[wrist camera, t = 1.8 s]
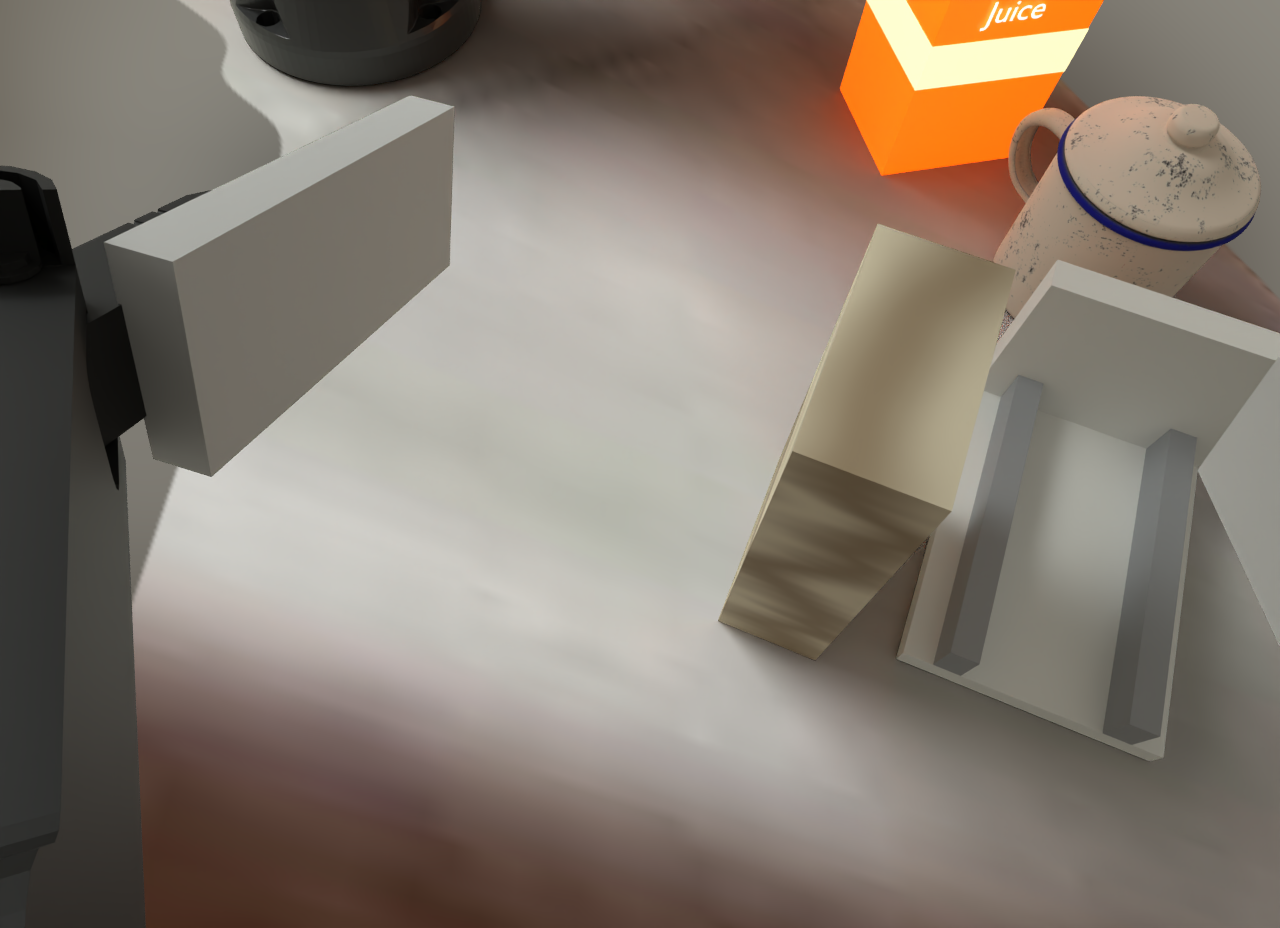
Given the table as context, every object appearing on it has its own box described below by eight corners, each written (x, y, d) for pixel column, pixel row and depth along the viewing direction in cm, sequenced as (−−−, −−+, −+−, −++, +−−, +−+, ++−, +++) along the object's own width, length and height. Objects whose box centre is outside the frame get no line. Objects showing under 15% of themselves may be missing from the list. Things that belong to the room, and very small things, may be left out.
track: (1149, 761, 36) (1308, 721, 28) (896, 658, 37) (978, 592, 29) (1188, 451, 43) (1325, 348, 35) (973, 375, 44) (1057, 259, 36)
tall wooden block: (717, 620, 38) (792, 450, 24) (781, 454, 42) (877, 223, 27) (814, 660, 37) (951, 511, 23) (870, 488, 41) (1016, 269, 27)
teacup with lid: (1185, 318, 47) (1354, 152, 36) (1060, 383, 44) (1202, 225, 34) (1040, 172, 51) (1153, -13, 41) (919, 224, 49) (1007, 42, 39)
